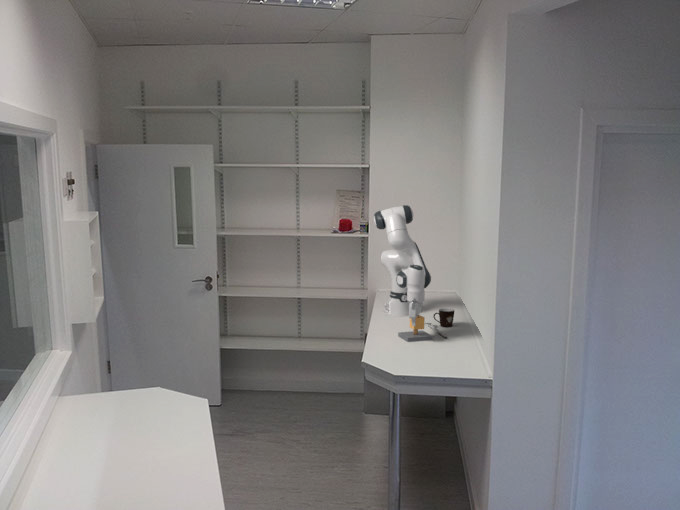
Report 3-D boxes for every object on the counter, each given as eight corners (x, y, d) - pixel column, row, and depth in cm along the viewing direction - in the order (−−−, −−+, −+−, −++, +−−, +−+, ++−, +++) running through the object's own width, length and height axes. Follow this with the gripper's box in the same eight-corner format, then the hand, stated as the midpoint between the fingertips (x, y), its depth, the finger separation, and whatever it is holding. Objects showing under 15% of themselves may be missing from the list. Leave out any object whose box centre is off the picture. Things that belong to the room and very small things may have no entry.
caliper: (431, 327, 330) (424, 325, 329) (433, 323, 330) (425, 320, 329) (452, 341, 301) (444, 339, 300) (454, 337, 301) (445, 334, 300)
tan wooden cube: (409, 327, 303) (409, 315, 302) (419, 326, 305) (419, 315, 304) (414, 329, 298) (414, 317, 297) (424, 329, 299) (424, 317, 299)
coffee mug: (453, 326, 329) (453, 308, 328) (454, 329, 321) (455, 311, 320) (432, 325, 330) (432, 308, 329) (433, 329, 322) (433, 311, 321)
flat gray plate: (398, 336, 305) (398, 323, 305) (422, 334, 310) (422, 322, 309) (407, 341, 294) (408, 329, 293) (433, 339, 298) (433, 327, 298)
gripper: (418, 301, 289) (418, 328, 290) (424, 294, 308) (424, 320, 310) (406, 300, 290) (405, 327, 292) (412, 293, 310) (412, 319, 311)
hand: (415, 323), depth 301 cm, fingers closed on tan wooden cube, 7 cm apart
